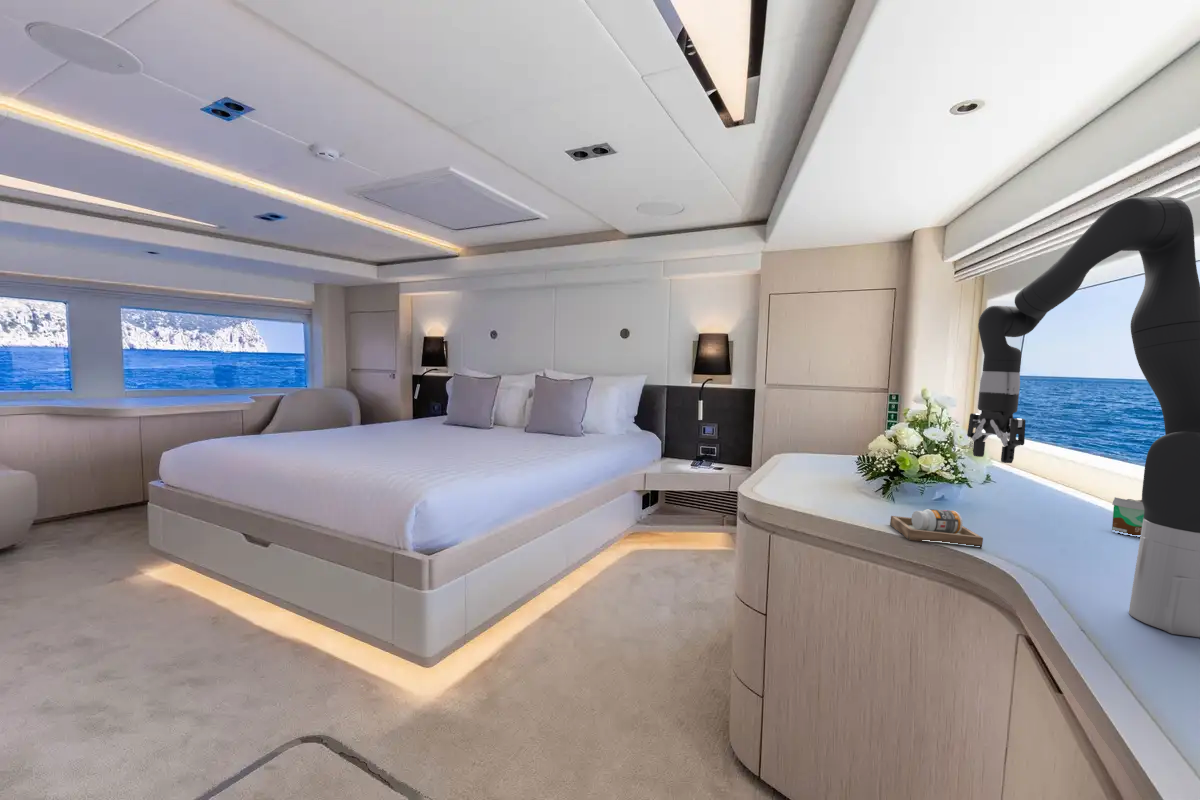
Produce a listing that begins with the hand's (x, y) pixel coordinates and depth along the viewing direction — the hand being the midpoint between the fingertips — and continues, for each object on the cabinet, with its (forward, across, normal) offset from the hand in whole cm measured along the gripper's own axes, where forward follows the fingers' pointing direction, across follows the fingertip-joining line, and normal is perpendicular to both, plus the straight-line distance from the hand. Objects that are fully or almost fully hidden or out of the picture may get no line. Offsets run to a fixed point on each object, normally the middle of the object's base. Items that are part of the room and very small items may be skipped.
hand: (992, 459), depth 125 cm
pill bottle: (+17, -6, -2) cm, 18 cm away
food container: (+22, -17, +57) cm, 63 cm away
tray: (+21, -6, -8) cm, 23 cm away
